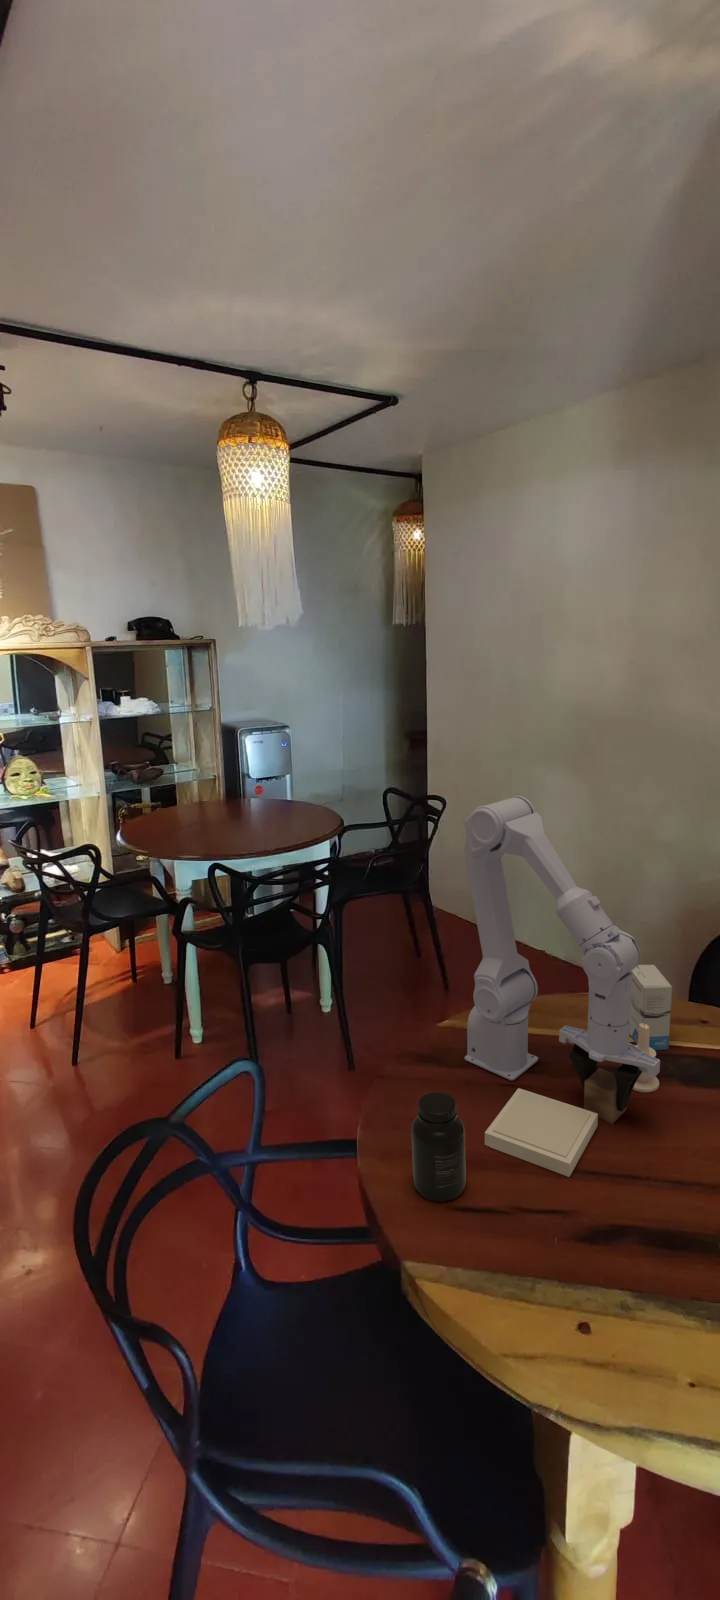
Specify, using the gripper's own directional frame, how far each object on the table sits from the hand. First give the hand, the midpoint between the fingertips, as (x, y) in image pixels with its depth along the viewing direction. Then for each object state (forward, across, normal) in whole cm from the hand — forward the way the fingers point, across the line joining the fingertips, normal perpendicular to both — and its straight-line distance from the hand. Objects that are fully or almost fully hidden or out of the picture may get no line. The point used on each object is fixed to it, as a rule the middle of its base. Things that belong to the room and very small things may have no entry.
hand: (605, 1100), depth 112 cm
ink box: (+2, -4, +23) cm, 23 cm away
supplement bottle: (+2, -9, -28) cm, 29 cm away
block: (+2, 0, 0) cm, 2 cm away
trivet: (+2, -4, -11) cm, 12 cm away
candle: (+2, +1, +10) cm, 10 cm away
